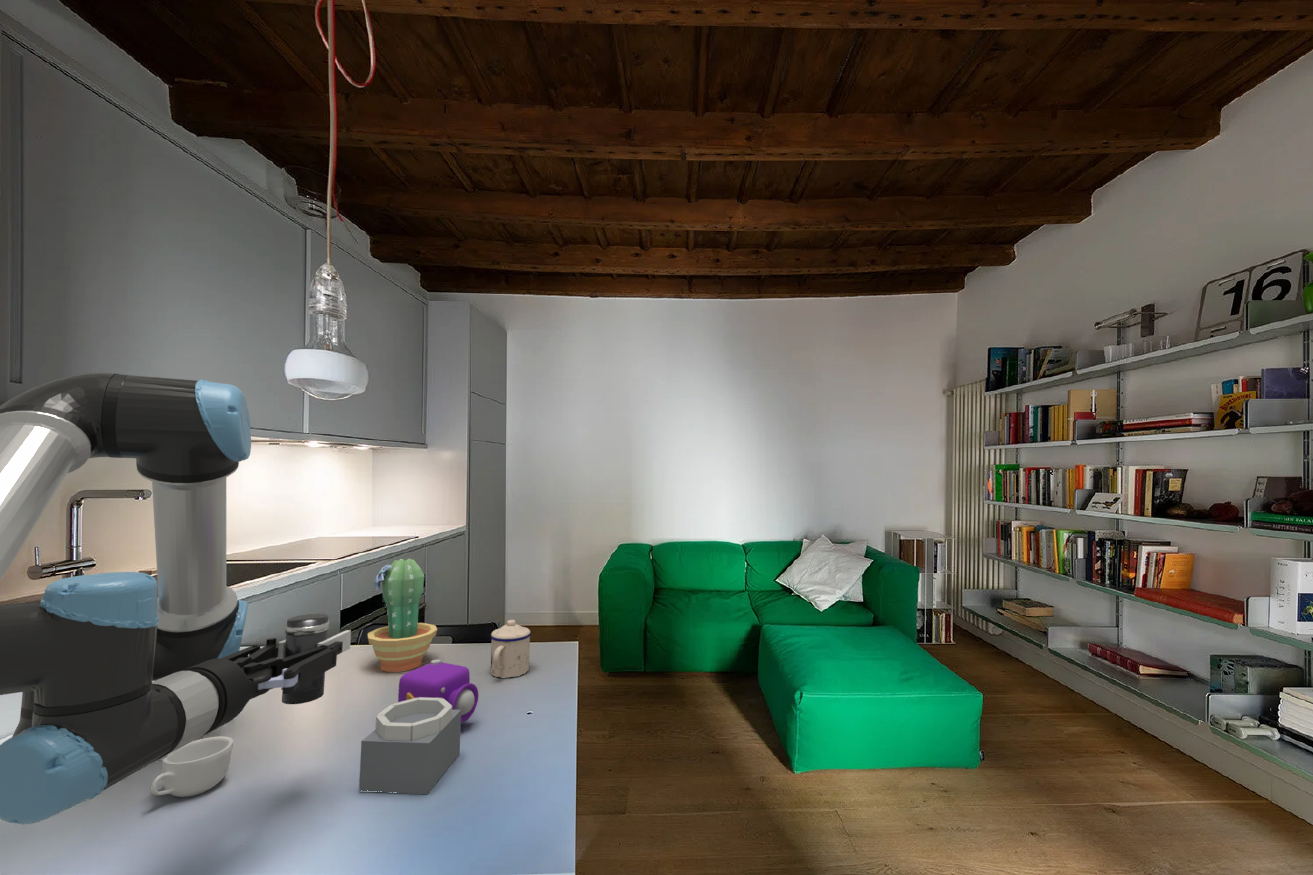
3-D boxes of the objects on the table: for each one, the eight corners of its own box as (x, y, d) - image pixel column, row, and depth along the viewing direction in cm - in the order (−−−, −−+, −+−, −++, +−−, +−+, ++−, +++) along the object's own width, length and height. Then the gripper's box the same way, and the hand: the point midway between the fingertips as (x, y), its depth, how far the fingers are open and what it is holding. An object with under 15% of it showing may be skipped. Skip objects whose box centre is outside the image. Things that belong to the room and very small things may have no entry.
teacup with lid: (501, 663, 128) (502, 614, 129) (536, 666, 127) (537, 616, 128) (475, 682, 117) (477, 628, 118) (513, 685, 115) (515, 630, 116)
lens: (270, 703, 73) (276, 622, 74) (298, 688, 78) (303, 613, 79) (307, 705, 73) (312, 623, 74) (333, 690, 78) (337, 613, 79)
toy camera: (457, 741, 90) (459, 681, 91) (387, 733, 93) (390, 675, 94) (489, 714, 101) (491, 660, 102) (425, 707, 104) (427, 655, 104)
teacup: (200, 771, 81) (203, 734, 81) (244, 775, 80) (246, 738, 80) (125, 811, 71) (129, 769, 71) (174, 817, 70) (177, 774, 70)
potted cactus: (398, 652, 136) (402, 553, 138) (449, 657, 132) (453, 556, 134) (349, 673, 121) (354, 562, 123) (405, 680, 117) (410, 566, 119)
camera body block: (358, 791, 76) (362, 726, 76) (399, 752, 87) (402, 695, 87) (427, 794, 75) (430, 728, 76) (459, 754, 86) (461, 697, 87)
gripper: (109, 736, 58) (272, 661, 81) (266, 742, 57) (386, 665, 81) (115, 666, 59) (275, 612, 82) (271, 671, 58) (388, 615, 81)
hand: (330, 638), depth 81 cm, fingers closed on lens, 5 cm apart
